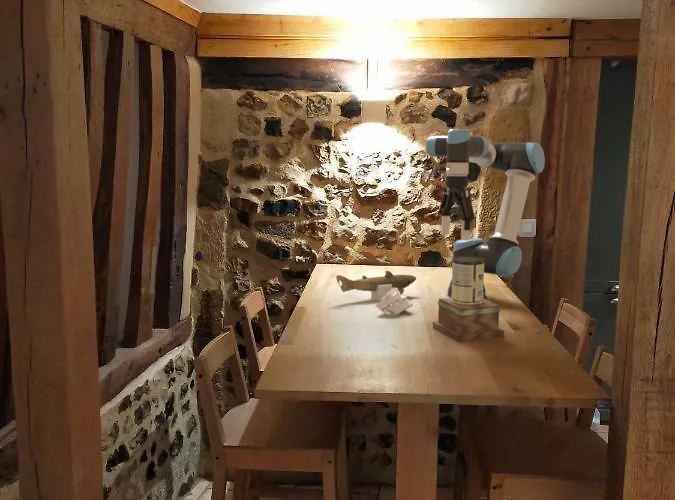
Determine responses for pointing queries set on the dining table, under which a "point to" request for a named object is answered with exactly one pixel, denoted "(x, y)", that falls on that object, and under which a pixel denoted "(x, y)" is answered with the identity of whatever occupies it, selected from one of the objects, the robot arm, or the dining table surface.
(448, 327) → the stand
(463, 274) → the coffee can
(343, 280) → the wood carving
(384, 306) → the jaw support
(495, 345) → the dining table surface
